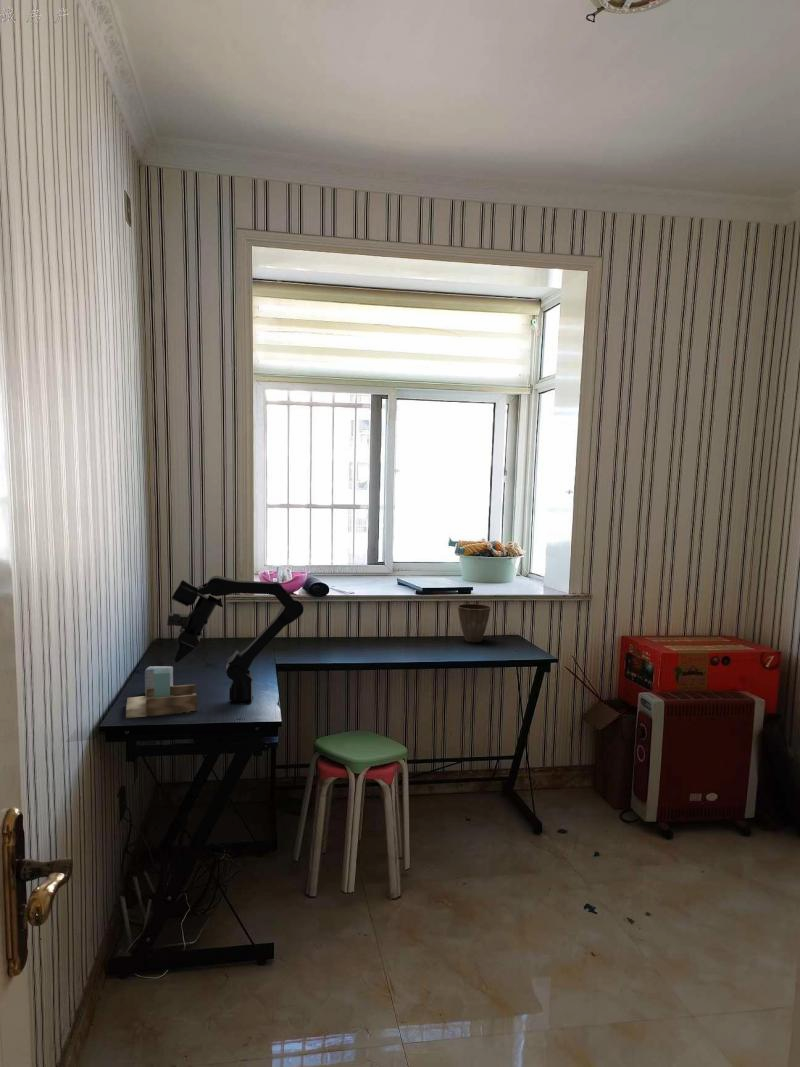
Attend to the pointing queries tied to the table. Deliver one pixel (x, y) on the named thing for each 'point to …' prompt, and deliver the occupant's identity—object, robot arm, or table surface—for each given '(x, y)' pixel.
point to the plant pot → (473, 621)
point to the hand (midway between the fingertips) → (176, 658)
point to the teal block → (161, 683)
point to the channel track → (163, 702)
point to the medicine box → (150, 676)
